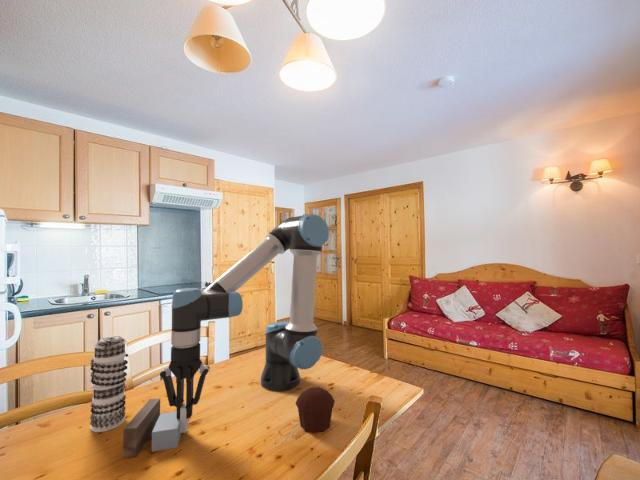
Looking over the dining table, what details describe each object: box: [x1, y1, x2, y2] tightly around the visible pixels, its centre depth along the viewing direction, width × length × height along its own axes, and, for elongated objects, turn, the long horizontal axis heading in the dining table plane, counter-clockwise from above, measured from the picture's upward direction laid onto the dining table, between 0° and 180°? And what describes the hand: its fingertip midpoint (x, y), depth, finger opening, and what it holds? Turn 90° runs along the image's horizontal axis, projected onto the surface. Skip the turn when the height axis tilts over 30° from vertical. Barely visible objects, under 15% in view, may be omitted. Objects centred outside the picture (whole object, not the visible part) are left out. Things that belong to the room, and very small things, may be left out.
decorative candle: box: [89, 335, 129, 433], centre depth 88 cm, size 9×9×25 cm
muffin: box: [295, 386, 336, 435], centre depth 88 cm, size 12×11×10 cm
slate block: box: [151, 411, 182, 452], centre depth 81 cm, size 6×9×5 cm, turn 16°
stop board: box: [122, 398, 161, 459], centre depth 81 cm, size 3×15×7 cm, turn 8°
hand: (184, 429), depth 82 cm, fingers closed
